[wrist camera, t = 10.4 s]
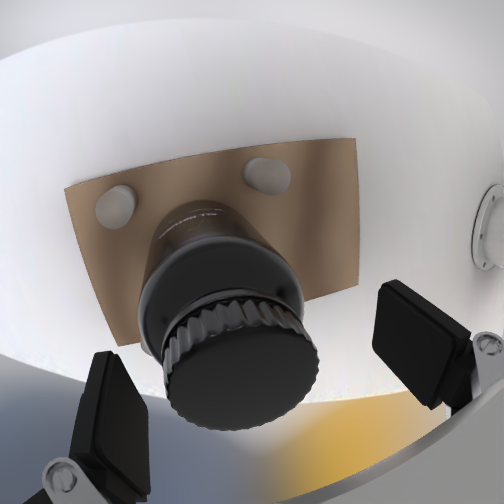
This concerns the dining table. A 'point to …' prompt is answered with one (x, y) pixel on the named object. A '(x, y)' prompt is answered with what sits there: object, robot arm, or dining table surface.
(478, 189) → the dining table surface
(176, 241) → the supplement bottle
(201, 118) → the dining table surface
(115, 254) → the peg board
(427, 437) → the robot arm
